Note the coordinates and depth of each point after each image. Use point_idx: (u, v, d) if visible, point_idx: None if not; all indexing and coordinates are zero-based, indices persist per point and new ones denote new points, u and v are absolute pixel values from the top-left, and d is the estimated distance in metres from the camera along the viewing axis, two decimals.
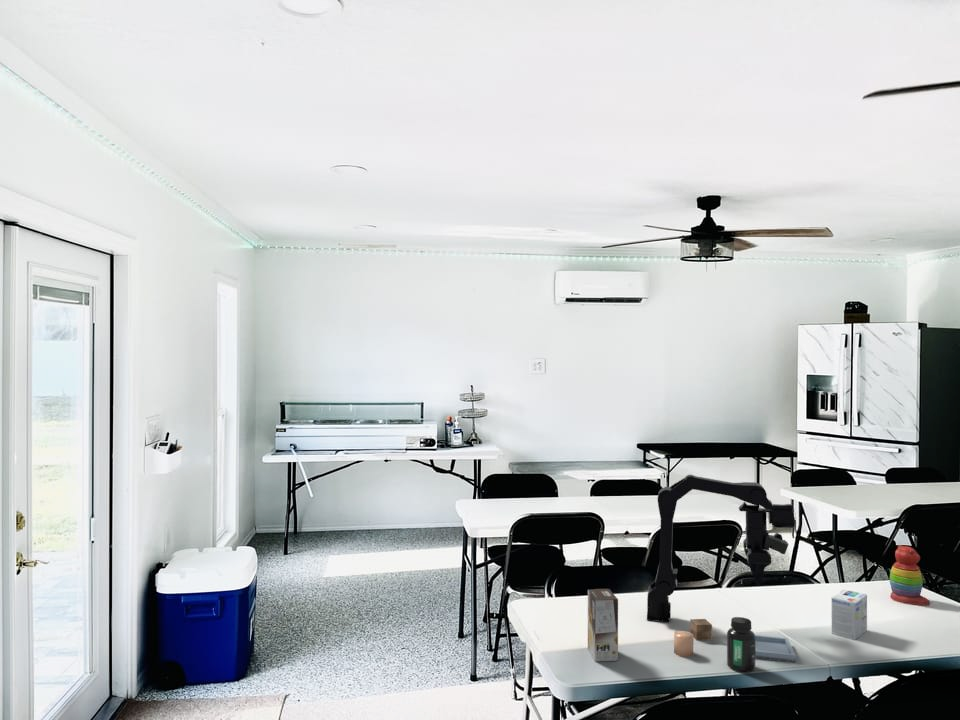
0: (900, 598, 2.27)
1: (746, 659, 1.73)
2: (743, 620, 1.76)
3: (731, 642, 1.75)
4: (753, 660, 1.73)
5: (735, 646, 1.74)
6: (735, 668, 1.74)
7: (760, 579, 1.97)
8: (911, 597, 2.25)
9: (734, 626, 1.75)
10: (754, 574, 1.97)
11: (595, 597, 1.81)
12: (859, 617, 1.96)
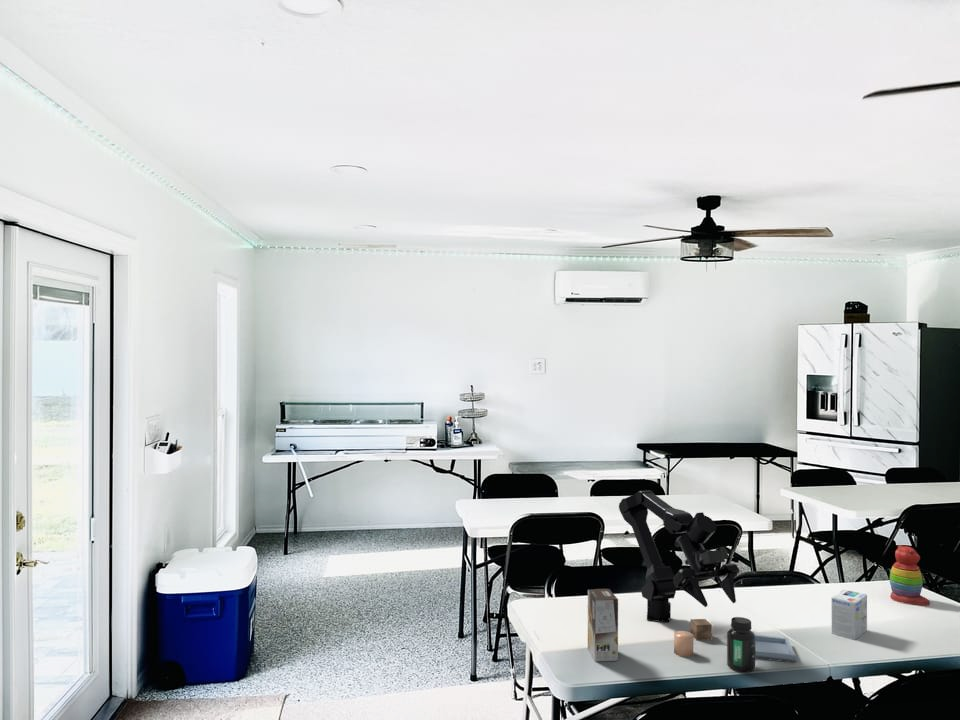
0: (900, 598, 2.27)
1: (746, 659, 1.73)
2: (743, 620, 1.76)
3: (731, 642, 1.75)
4: (753, 660, 1.73)
5: (735, 646, 1.74)
6: (735, 668, 1.74)
7: (702, 600, 1.83)
8: (911, 597, 2.25)
9: (734, 626, 1.75)
10: (695, 598, 1.85)
11: (595, 597, 1.81)
12: (859, 617, 1.96)
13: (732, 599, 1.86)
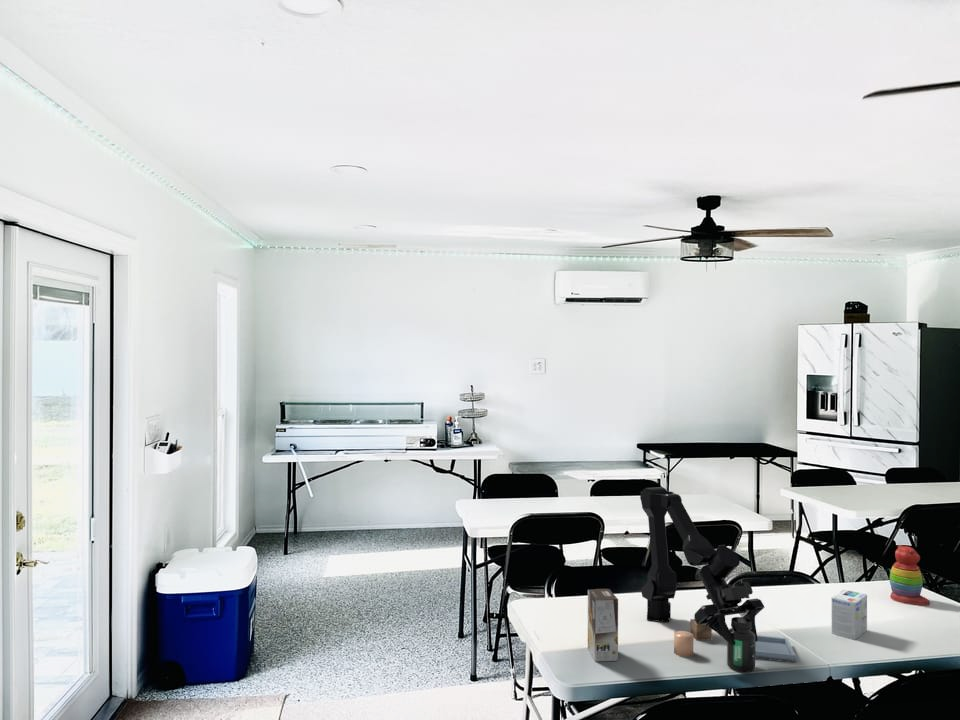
0: (900, 598, 2.27)
1: (746, 659, 1.73)
2: (743, 620, 1.76)
3: None
4: (753, 660, 1.73)
5: (735, 646, 1.74)
6: (735, 668, 1.74)
7: (729, 638, 1.74)
8: (911, 597, 2.25)
9: (734, 626, 1.75)
10: (722, 636, 1.76)
11: (595, 597, 1.81)
12: (859, 617, 1.96)
13: None
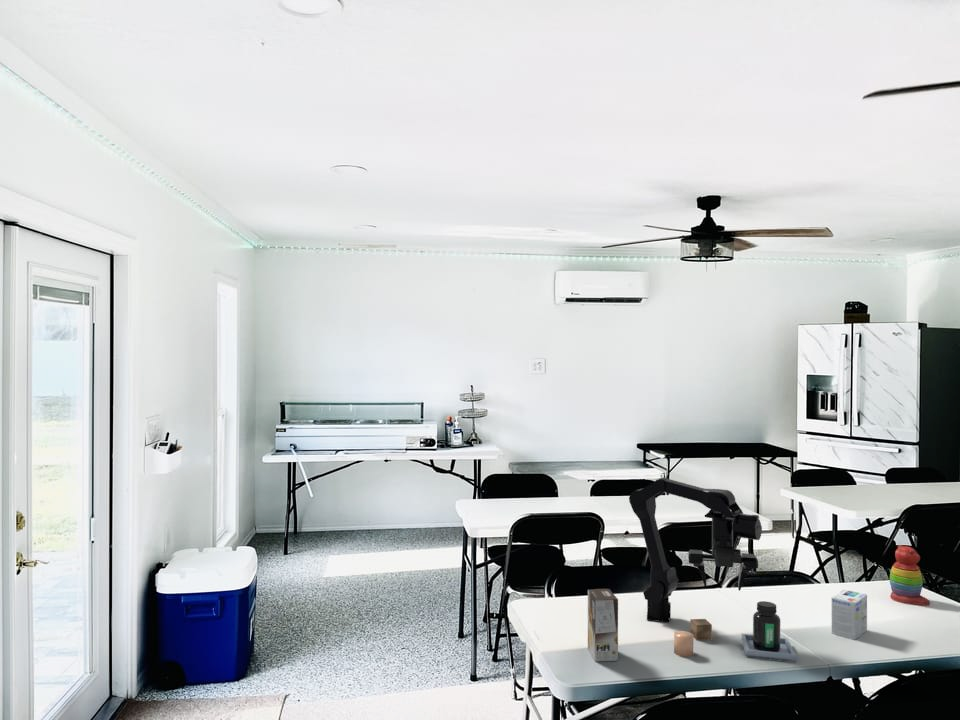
0: (900, 598, 2.27)
1: (776, 640, 1.83)
2: (767, 603, 1.87)
3: (763, 627, 1.84)
4: None
5: (767, 630, 1.83)
6: (767, 650, 1.83)
7: (703, 582, 1.99)
8: (911, 597, 2.25)
9: (764, 611, 1.85)
10: None
11: (595, 597, 1.81)
12: (859, 617, 1.96)
13: (738, 587, 1.97)
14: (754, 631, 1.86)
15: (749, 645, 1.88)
